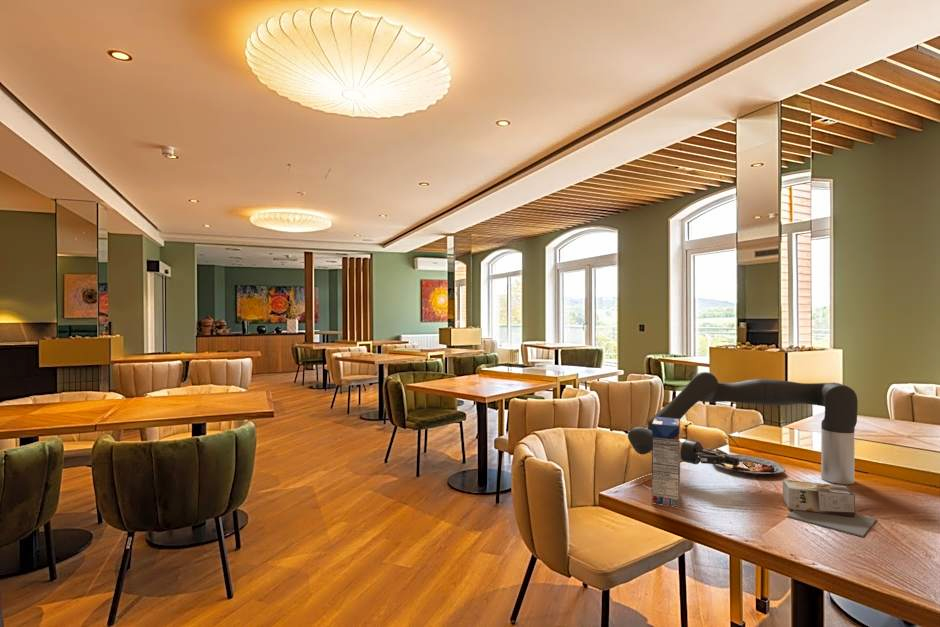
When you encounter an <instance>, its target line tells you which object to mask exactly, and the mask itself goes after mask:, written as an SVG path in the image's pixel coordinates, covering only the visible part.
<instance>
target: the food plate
mask: <svg viewBox="0 0 940 627" xmlns="http://www.w3.org/2000/svg"><path fill="white" fill-rule="evenodd" d="M727 454H728V455H727V456H730V457H735V458H739V460H740V464H739V465H738V466H734V465H730V464H719V465H718V464H714V465H715V466H716V467H718V468H722V469H724V470H725V469H726V470H728V471H733V472H738V473H746V474H751V475H758V474H760V476H761V475H773V474H774V475H779V474H784V473H785V472H786V468H784V466H782V464H780V463H779V462H776V461H775V460H770V459H767V458H766V459H765V458H762V457H757V456H752V455H745V454H731V453H727ZM741 463H742V465H743V464H744V465H745V466H746V467H748V468H744V467H743V466H742V465H741ZM754 463H755V464H754ZM756 464H757V465H758V464H760V465H759V466H760V467H759V466H757V467H755V466H756ZM761 465H762V466H761Z"/></svg>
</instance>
